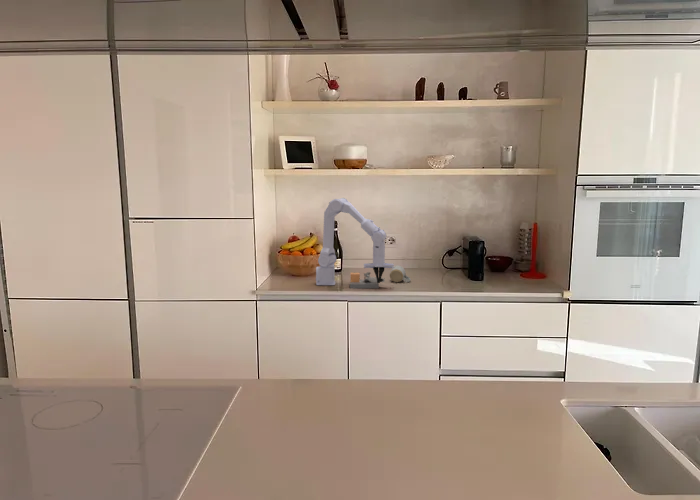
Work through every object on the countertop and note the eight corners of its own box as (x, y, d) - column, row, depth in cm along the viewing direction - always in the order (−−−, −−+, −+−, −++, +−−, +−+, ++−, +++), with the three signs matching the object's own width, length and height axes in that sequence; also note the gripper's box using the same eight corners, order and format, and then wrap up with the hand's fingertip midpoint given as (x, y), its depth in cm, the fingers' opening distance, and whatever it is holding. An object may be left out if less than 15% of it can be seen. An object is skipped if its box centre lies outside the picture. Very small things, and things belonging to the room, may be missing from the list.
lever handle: (382, 283, 250) (382, 275, 249) (362, 281, 254) (362, 273, 254) (385, 281, 254) (385, 273, 253) (366, 280, 258) (366, 271, 258)
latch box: (349, 288, 250) (349, 284, 250) (349, 283, 261) (349, 279, 261) (378, 288, 250) (378, 284, 250) (377, 283, 261) (377, 279, 261)
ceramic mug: (388, 282, 263) (389, 267, 262) (391, 279, 271) (391, 265, 270) (409, 283, 261) (410, 269, 260) (411, 280, 269) (411, 266, 268)
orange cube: (350, 282, 254) (350, 274, 254) (350, 280, 259) (350, 272, 258) (359, 282, 254) (359, 274, 253) (359, 280, 259) (359, 272, 258)
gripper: (364, 256, 244) (363, 284, 246) (394, 256, 244) (394, 284, 246) (363, 254, 251) (363, 281, 253) (393, 254, 251) (393, 281, 253)
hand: (378, 282), depth 250 cm, fingers closed
